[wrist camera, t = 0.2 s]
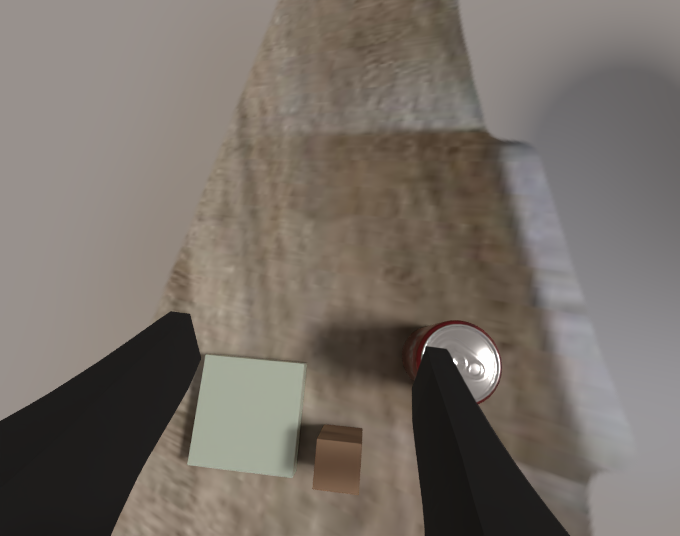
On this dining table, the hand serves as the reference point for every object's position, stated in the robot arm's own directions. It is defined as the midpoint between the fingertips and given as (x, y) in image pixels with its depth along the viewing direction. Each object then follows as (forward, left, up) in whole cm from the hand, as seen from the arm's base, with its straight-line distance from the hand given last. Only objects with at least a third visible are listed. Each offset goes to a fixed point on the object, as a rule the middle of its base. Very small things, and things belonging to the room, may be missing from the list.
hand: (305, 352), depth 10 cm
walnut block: (-12, 0, -31) cm, 33 cm away
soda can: (-1, -10, -31) cm, 33 cm away
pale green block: (-9, +11, -31) cm, 34 cm away
